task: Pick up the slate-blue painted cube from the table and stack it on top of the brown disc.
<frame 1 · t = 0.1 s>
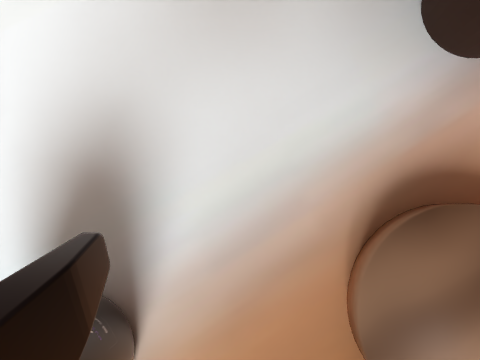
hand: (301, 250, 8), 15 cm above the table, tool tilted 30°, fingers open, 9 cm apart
supplement bottle: (84, 343, 23), on the table
brown disc: (448, 303, 22), on the table
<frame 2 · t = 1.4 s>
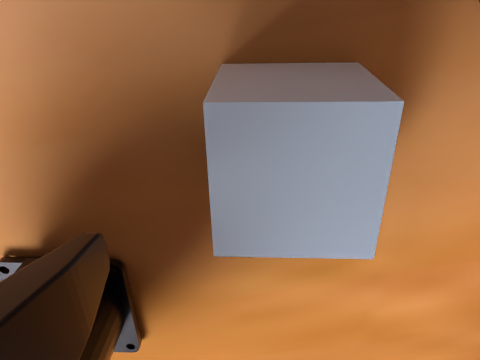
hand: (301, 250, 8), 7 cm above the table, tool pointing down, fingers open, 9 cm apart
blue cube: (286, 126, 15), on the table
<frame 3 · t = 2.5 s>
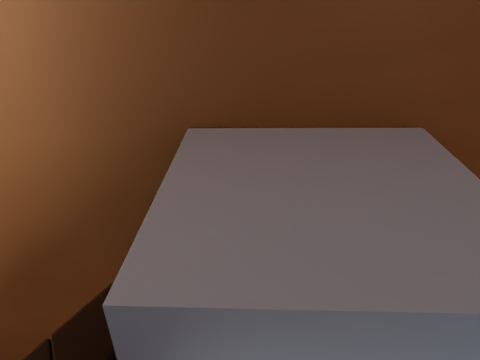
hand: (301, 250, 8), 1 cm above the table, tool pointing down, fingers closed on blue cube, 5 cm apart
blue cube: (297, 223, 9), on the table, touching gripper
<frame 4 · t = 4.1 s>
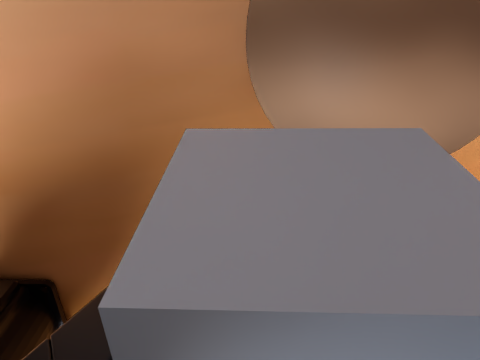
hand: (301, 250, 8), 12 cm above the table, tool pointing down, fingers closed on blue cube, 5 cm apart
brown disc: (377, 32, 17), on the table
blue cube: (295, 224, 9), point 11 cm above the table, touching gripper
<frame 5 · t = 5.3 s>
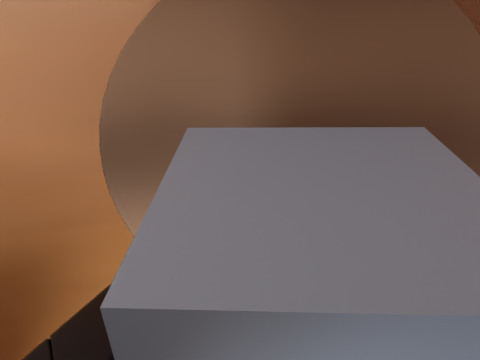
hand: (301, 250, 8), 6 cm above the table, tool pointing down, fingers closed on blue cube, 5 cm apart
brown disc: (287, 140, 14), on the table
blue cube: (297, 223, 9), point 5 cm above the table, touching gripper
when the fingers open (4 cm above the table, at t = 6.0 s): blue cube stays where it is, resting on brown disc.
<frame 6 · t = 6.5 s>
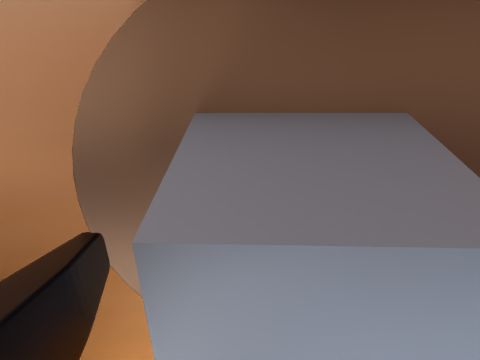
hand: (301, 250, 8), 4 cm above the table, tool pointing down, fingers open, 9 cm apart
brown disc: (289, 162, 12), on the table
blue cube: (294, 202, 10), point 2 cm above the table, touching brown disc
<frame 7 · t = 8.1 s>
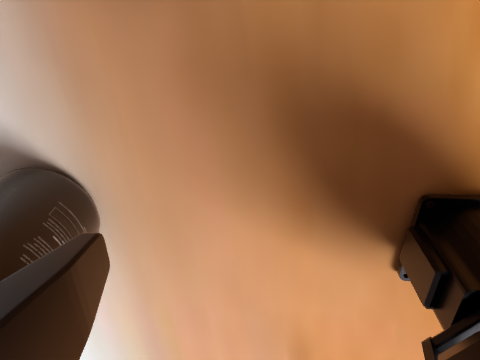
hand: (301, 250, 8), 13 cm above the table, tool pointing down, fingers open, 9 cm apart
supplement bottle: (50, 210, 24), on the table
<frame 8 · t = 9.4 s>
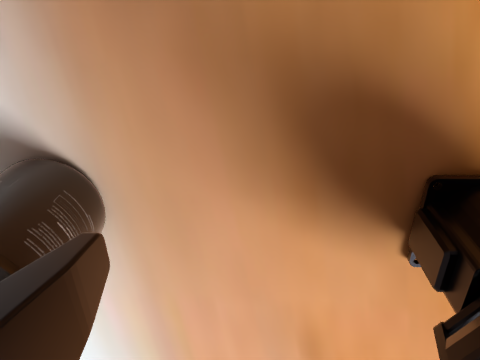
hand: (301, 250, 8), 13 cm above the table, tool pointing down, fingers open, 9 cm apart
supplement bottle: (57, 201, 24), on the table
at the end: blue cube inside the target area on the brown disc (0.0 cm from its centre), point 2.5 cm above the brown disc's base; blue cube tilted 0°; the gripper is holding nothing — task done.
